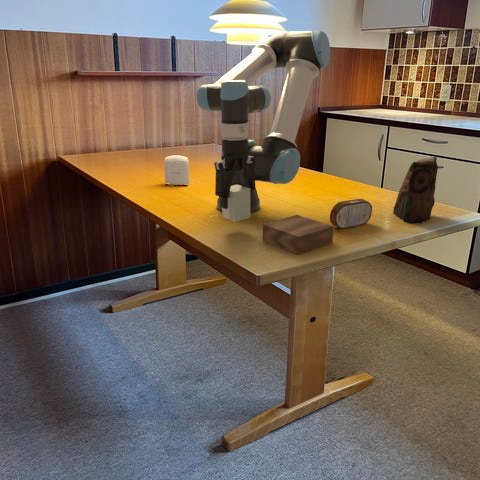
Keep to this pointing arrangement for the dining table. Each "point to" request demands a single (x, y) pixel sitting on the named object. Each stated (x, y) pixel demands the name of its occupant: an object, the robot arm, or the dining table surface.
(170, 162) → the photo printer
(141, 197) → the dining table surface
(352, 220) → the tin
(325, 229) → the walnut board
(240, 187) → the sage block
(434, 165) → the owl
